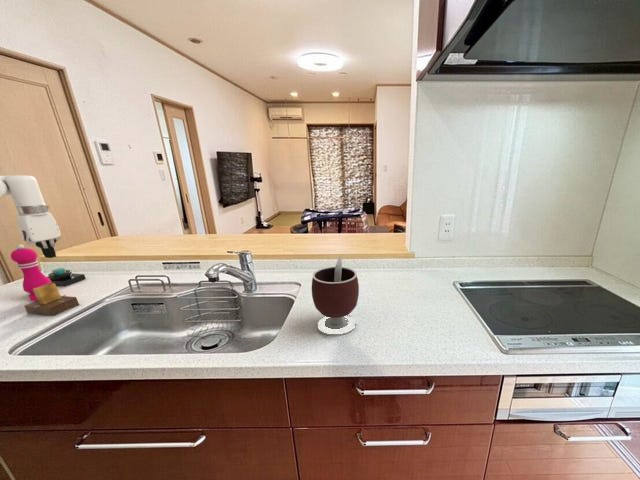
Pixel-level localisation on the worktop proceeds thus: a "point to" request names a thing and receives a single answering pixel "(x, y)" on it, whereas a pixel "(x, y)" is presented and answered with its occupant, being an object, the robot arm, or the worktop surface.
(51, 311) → the brown flat block
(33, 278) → the pepper mill
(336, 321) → the mate gourd
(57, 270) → the bell button
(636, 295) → the worktop surface
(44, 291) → the lock turn
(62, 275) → the doorbell
